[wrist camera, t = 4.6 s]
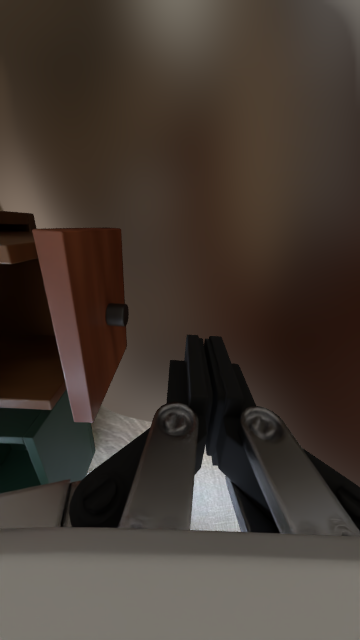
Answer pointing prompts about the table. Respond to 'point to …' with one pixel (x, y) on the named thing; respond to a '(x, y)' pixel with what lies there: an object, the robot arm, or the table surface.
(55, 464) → the chest
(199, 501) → the table surface
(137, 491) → the robot arm
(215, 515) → the table surface
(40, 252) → the drawer
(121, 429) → the table surface
